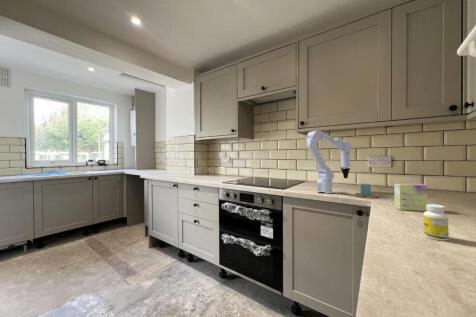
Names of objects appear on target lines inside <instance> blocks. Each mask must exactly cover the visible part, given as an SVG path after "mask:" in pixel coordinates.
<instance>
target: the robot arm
mask: <svg viewBox="0 0 476 317" xmlns="http://www.w3.org/2000/svg"><path fill="white" fill-rule="evenodd" d="M305 138H306V147H307V149H308V151H309V152H310V155H311V157H312V158H313V160H314V162H315V164H316V166H317V172H318V177H319V179H317V182H316V190H317V191H316V193H317V192H326V193H325V194H327V193H331V192H332V191H333V179H334V178H335V173H334V171H332V170H331V168H330V167H329V166H327V164H326V162H325V160H324V157H323V155H322V154H321V153H320V150H319V148H318V143H319V142H320V140H324V141H326V142H329V143H331V145H332V146H333V147H336V148H338V150H340V167H341V168H340V170H341V172H342V175H343V179H348V178H349V173H350V170H351V167H353V165H352V164H351V150H352V148H353V146H352V144H351V143H350V142H349V141H345V140H342V139H341V138H340V137H332V136H330V135H328V134H326V133H325V132H324V131H321V130H318V129H316V130H313V131H309V132H308V133H307V134H306V136H305ZM319 190H320V191H319Z"/></svg>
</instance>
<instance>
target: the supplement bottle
mask: <svg viewBox="0 0 476 317" xmlns="http://www.w3.org/2000/svg"><path fill="white" fill-rule="evenodd" d="M426 209H427V211H423V235H424V236H425V237H426V238H428V239H431V240H435V241H444V242H445V241H449V237H450V235H449V216H448V214H447V213H445V209H446V207H445V206H444V205H441V204H435V203H429V204H428V203H427V205H426Z"/></svg>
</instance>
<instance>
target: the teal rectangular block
mask: <svg viewBox="0 0 476 317" xmlns="http://www.w3.org/2000/svg"><path fill="white" fill-rule="evenodd" d="M371 189H372V184H370V183H360V193H361V195H363V196H371V194H372V193H371V192H372V190H371Z"/></svg>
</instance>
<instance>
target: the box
mask: <svg viewBox="0 0 476 317" xmlns="http://www.w3.org/2000/svg"><path fill="white" fill-rule="evenodd" d="M393 187H394V188H393V190H394V191H393V192H394V193H393V196H394V199H393V200H394V208H396V209H397V210H399V211H416V212H426V211H427V209H426V205H427V204H428V200H427V198H428V197H427V190H428V189H427V184H424V183H423V184H422V183H396V182H395V183H394V186H393Z"/></svg>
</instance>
